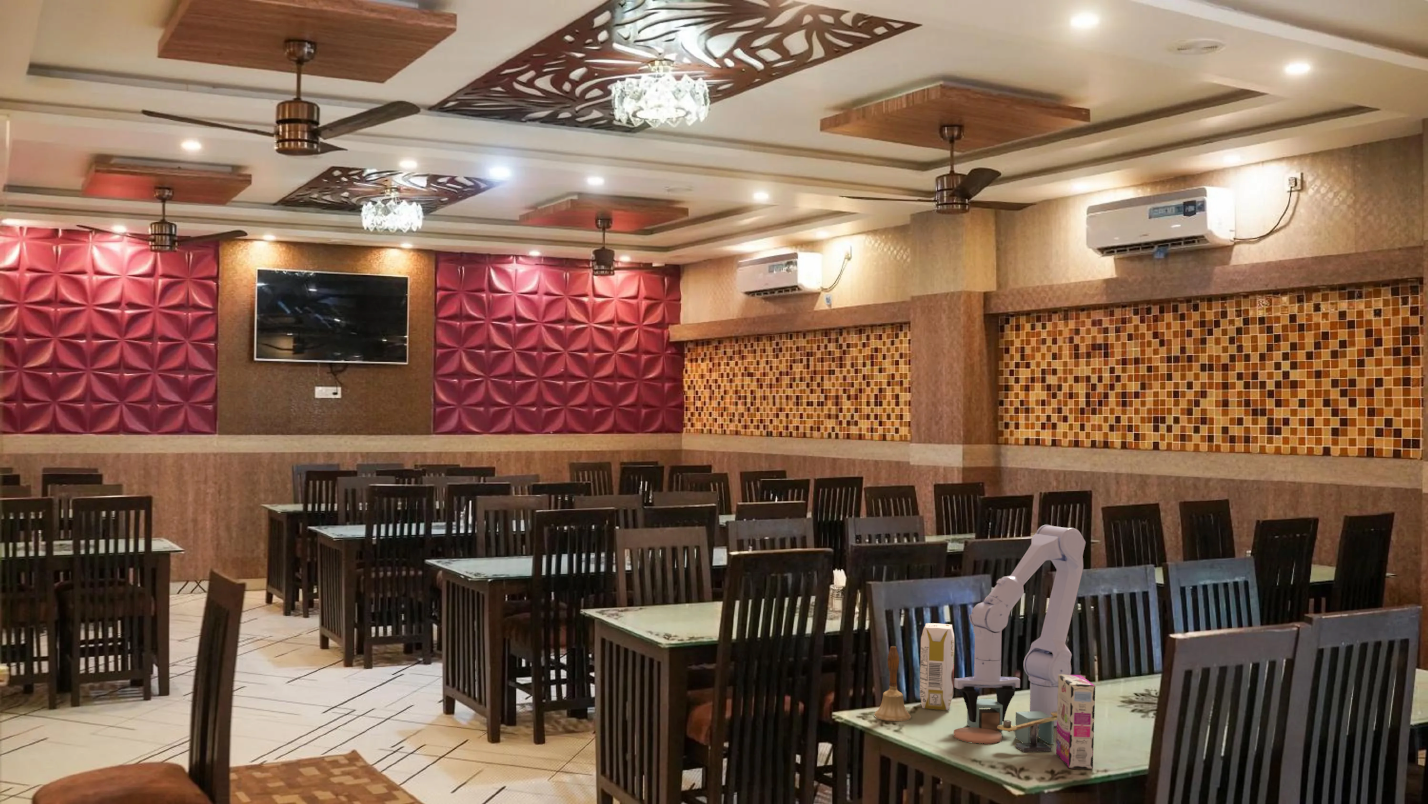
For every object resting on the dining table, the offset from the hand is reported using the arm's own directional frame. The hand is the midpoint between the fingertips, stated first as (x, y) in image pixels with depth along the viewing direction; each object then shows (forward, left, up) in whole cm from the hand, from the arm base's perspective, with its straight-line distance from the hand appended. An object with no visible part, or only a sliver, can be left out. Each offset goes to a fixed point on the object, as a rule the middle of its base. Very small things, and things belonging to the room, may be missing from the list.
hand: (986, 720), depth 274 cm
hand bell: (+17, -13, -2) cm, 22 cm away
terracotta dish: (+5, +7, -2) cm, 9 cm away
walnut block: (0, 0, -2) cm, 2 cm away
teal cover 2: (-6, +11, -2) cm, 13 cm away
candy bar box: (-7, +27, -2) cm, 28 cm away
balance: (-3, +17, -2) cm, 17 cm away
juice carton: (+3, -22, -2) cm, 22 cm away
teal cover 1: (0, -1, -2) cm, 2 cm away
